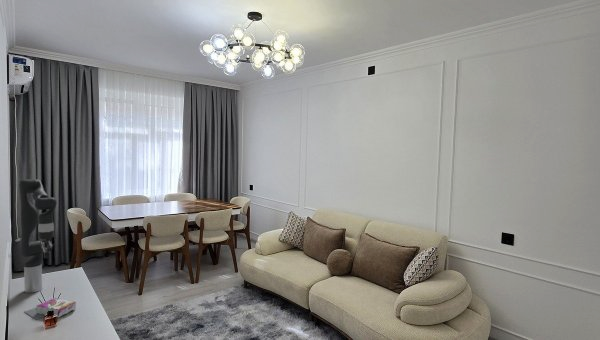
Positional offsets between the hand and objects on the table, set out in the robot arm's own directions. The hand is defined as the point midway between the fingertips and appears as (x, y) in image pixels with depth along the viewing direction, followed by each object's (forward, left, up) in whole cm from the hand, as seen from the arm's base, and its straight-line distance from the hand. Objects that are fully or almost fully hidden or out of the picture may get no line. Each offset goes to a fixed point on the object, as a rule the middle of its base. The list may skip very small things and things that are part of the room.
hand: (46, 257), depth 201 cm
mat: (+9, -5, -29) cm, 31 cm away
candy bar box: (+8, -4, -26) cm, 28 cm away
